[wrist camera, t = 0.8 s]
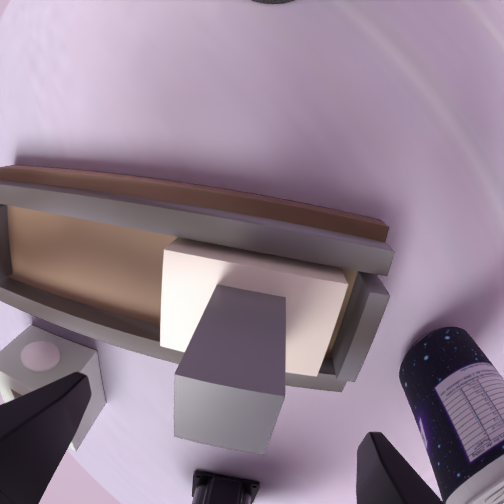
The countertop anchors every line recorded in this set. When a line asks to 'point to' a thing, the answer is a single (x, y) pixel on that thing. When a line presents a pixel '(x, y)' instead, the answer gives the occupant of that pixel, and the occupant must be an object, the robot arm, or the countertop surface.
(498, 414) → the beverage can
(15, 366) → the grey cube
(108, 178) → the rail
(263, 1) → the sundae
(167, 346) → the carriage
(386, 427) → the countertop surface
